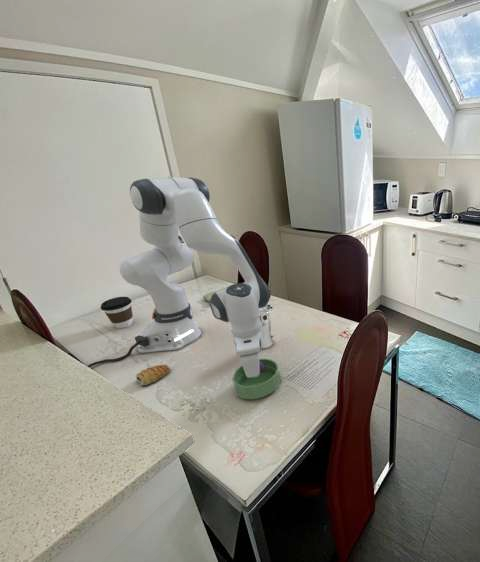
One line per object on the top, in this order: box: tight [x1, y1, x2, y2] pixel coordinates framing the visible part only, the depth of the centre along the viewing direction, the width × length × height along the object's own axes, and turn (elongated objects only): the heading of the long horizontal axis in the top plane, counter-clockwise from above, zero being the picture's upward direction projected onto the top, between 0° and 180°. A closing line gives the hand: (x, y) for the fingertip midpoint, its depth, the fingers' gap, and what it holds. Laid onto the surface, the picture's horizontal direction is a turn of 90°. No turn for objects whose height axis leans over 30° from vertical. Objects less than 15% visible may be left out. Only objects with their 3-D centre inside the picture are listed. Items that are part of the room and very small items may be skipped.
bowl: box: [232, 358, 281, 400], centre depth 104 cm, size 14×14×6 cm
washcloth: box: [202, 286, 228, 304], centre depth 166 cm, size 13×18×3 cm
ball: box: [259, 361, 263, 374], centre depth 102 cm, size 5×5×5 cm
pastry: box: [135, 364, 170, 386], centre depth 108 cm, size 9×7×4 cm
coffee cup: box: [100, 296, 134, 329], centre depth 139 cm, size 11×11×12 cm
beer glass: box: [259, 307, 274, 349], centre depth 124 cm, size 7×7×15 cm
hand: (255, 370), depth 102 cm, fingers closed on ball, 5 cm apart
